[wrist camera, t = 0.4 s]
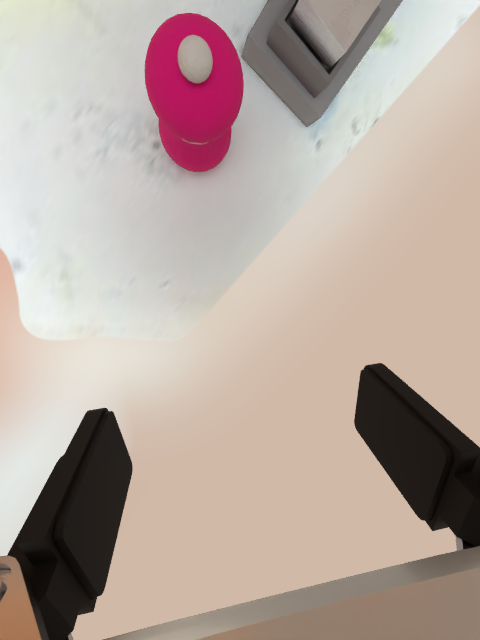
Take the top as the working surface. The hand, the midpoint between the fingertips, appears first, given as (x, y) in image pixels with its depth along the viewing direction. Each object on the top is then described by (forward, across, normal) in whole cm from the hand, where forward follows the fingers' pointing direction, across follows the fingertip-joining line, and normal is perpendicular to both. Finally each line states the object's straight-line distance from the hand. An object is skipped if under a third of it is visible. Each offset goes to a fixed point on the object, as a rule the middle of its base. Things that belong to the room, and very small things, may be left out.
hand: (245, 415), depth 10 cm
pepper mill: (+30, 0, -14) cm, 33 cm away
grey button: (+22, -13, -21) cm, 33 cm away
